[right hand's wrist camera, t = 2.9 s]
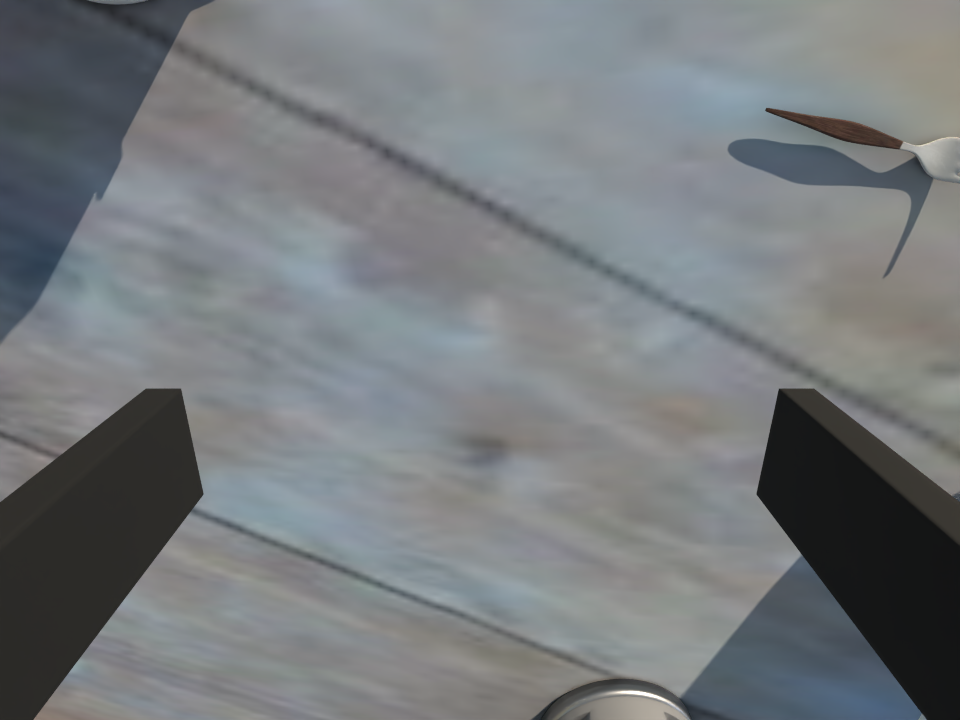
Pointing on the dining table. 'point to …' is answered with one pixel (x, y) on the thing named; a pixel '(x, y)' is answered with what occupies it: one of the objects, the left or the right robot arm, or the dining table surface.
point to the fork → (887, 143)
